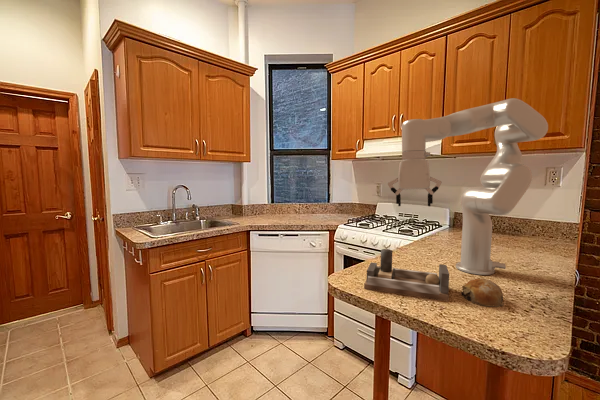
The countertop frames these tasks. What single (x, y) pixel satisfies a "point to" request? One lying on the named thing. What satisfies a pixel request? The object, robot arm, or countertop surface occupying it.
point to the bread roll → (483, 293)
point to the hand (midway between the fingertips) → (414, 205)
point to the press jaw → (386, 265)
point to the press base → (411, 282)
